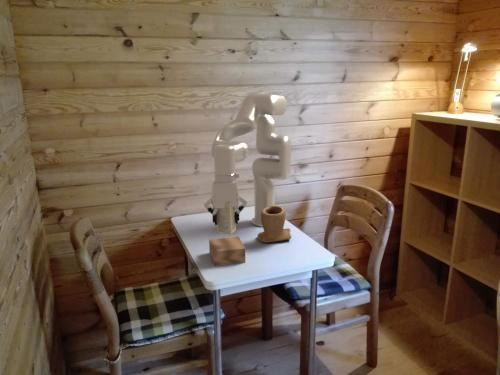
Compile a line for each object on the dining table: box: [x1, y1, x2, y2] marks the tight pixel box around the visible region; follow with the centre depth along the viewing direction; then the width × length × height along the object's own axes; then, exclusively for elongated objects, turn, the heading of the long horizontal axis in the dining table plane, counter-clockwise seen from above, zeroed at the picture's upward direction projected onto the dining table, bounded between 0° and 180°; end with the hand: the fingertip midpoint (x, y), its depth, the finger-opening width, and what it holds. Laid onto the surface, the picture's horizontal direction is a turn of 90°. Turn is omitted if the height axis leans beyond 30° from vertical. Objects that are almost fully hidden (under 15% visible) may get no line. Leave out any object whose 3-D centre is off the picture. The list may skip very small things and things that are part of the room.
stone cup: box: [257, 205, 292, 243], centre depth 172 cm, size 15×12×15 cm
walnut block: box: [208, 236, 246, 267], centre depth 157 cm, size 12×12×6 cm
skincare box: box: [216, 202, 237, 235], centre depth 153 cm, size 6×4×12 cm
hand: (226, 223), depth 154 cm, fingers closed on skincare box, 7 cm apart
